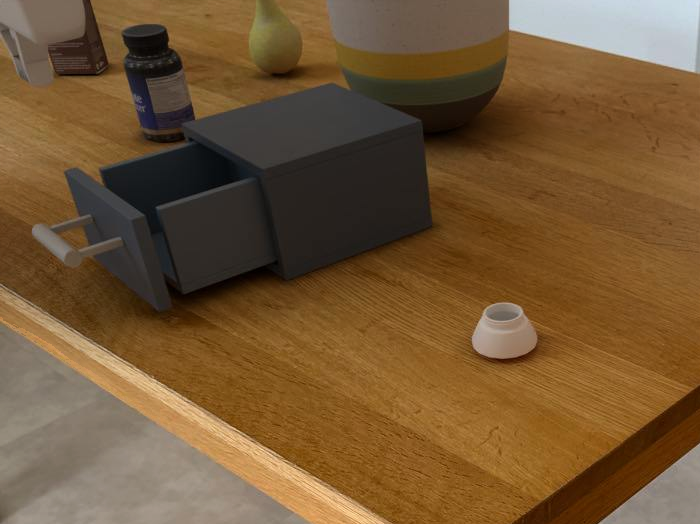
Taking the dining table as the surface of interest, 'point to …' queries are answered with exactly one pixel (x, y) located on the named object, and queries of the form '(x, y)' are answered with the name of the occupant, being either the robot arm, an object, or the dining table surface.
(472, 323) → the dining table surface
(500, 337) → the lidless jar
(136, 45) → the pill bottle
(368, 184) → the cabinet
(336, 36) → the planter
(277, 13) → the fruit
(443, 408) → the dining table surface
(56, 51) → the box
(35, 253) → the dining table surface
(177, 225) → the drawer
